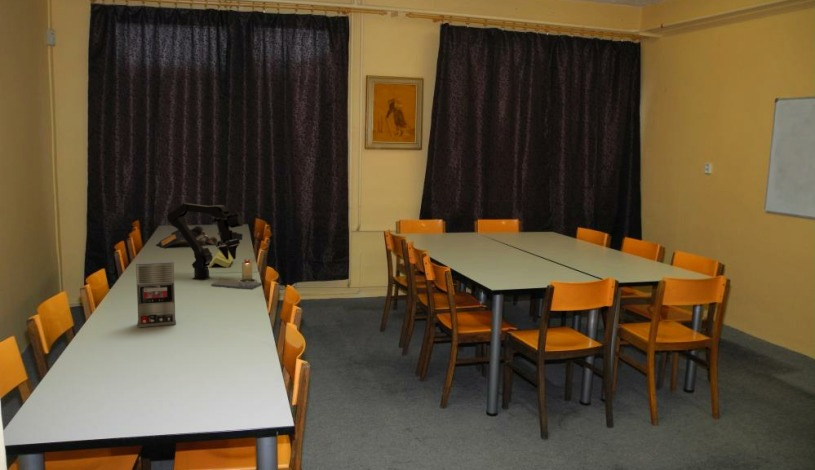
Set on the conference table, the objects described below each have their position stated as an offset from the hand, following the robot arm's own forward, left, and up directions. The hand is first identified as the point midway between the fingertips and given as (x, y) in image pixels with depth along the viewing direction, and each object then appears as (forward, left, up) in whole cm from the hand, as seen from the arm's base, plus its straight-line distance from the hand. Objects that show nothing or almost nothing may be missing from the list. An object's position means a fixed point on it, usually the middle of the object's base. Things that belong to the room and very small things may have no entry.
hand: (231, 259), depth 324 cm
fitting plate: (+7, -8, -11) cm, 16 cm away
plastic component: (-24, +36, -12) cm, 45 cm away
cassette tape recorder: (+8, -77, -12) cm, 79 cm away
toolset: (-79, +89, -12) cm, 119 cm away
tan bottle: (+13, -8, -10) cm, 19 cm away
